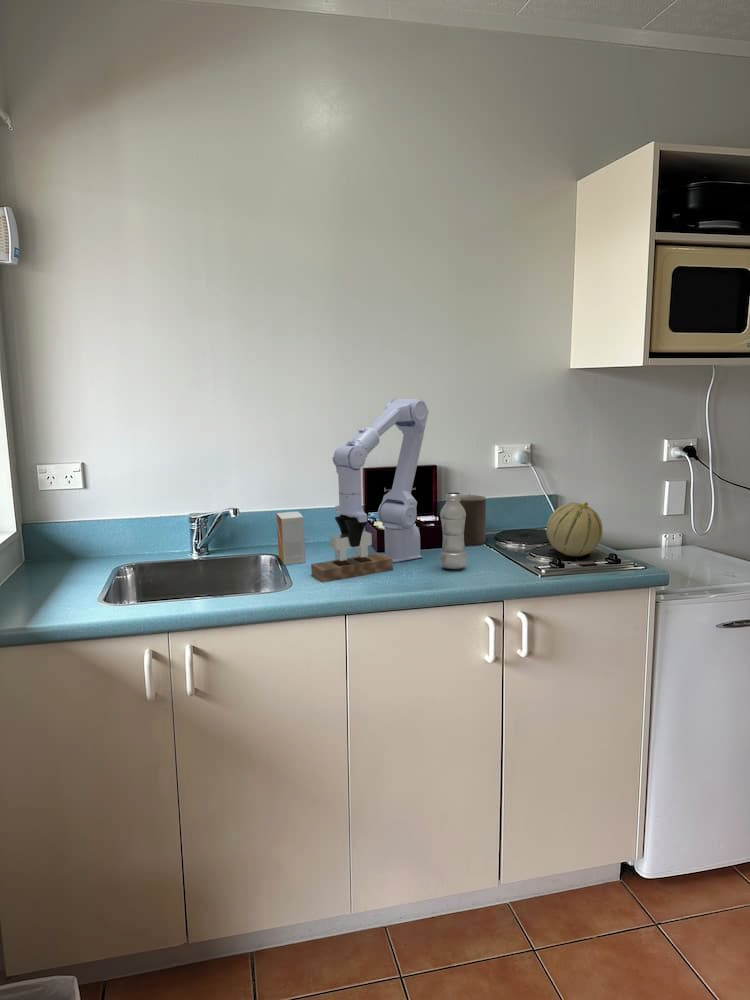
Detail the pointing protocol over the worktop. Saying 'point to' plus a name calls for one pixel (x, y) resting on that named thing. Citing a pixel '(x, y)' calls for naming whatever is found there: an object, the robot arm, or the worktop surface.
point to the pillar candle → (474, 519)
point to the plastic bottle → (453, 532)
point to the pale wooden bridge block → (343, 544)
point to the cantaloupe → (574, 529)
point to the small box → (291, 538)
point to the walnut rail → (351, 567)
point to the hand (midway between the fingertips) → (351, 544)
